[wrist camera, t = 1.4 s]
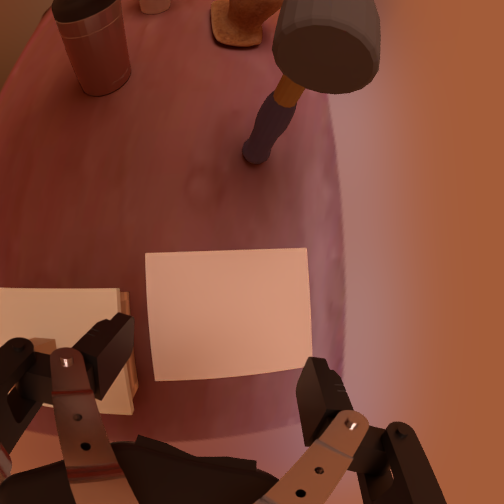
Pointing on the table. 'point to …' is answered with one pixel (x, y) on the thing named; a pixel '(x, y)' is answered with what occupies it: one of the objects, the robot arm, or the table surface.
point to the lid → (64, 327)
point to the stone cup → (241, 20)
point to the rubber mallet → (316, 60)
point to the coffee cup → (154, 6)
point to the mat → (228, 312)
